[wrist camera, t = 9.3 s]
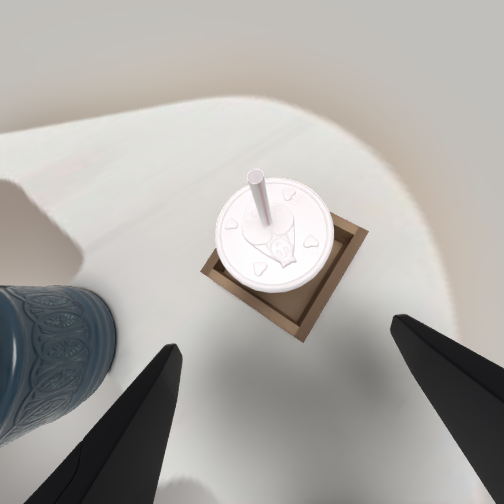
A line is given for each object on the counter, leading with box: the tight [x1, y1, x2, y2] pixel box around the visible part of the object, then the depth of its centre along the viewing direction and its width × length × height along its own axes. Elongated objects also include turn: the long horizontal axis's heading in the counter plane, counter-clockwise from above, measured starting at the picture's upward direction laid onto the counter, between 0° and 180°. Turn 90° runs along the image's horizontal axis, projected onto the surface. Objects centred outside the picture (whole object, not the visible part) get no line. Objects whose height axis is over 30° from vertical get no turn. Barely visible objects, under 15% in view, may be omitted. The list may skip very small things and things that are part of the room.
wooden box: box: [200, 212, 369, 342], centre depth 19 cm, size 10×10×4 cm
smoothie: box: [215, 169, 334, 293], centre depth 13 cm, size 6×6×14 cm
